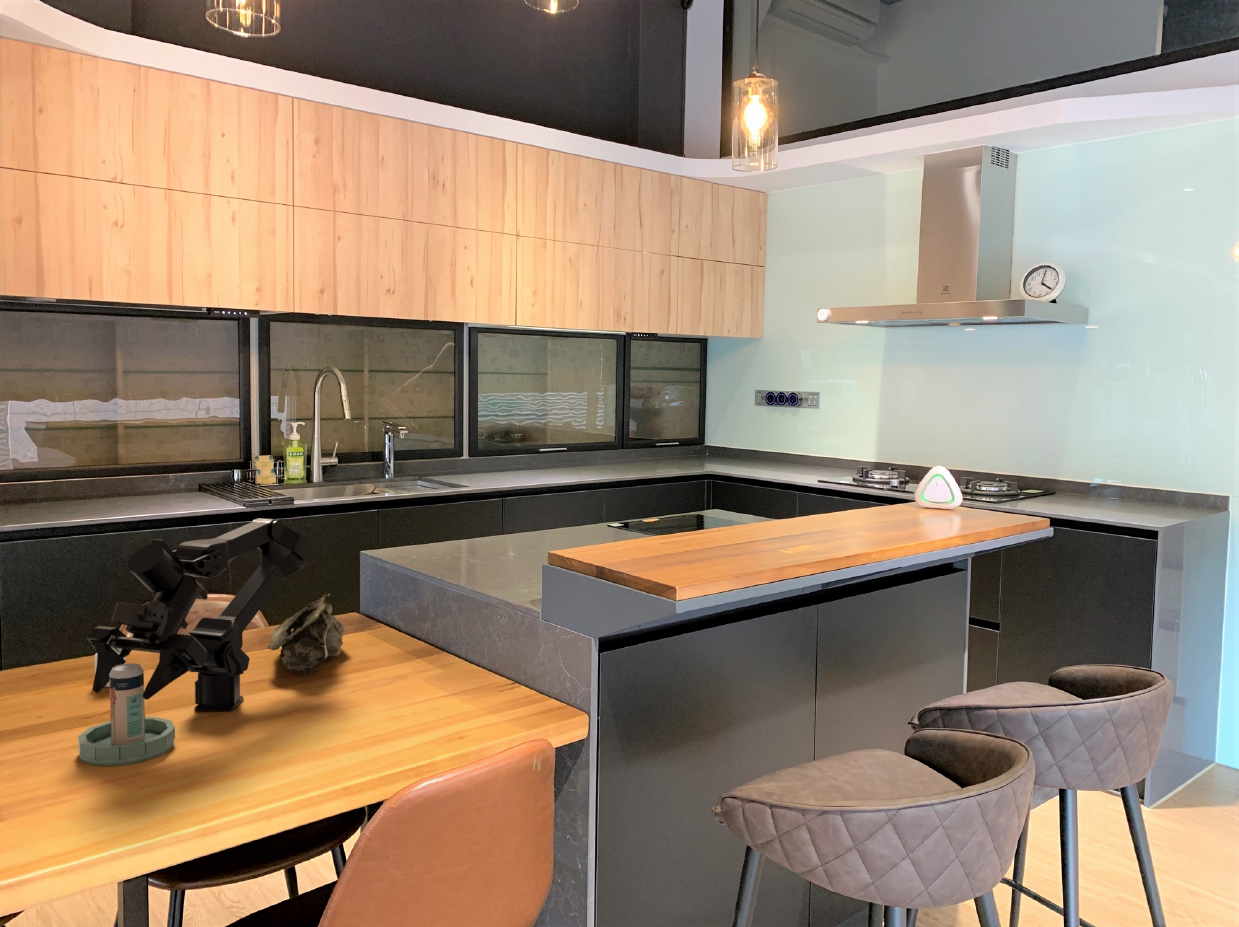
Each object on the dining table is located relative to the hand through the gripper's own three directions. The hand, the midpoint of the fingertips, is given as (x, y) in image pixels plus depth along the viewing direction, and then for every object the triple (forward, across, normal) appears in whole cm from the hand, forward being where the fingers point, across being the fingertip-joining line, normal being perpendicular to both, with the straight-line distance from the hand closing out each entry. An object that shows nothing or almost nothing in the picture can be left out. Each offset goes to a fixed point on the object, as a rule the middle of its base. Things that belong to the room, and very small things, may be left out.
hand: (119, 695), depth 143 cm
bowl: (+5, 0, +7) cm, 9 cm away
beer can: (+5, 0, +7) cm, 8 cm away
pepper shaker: (-12, -26, +25) cm, 38 cm away
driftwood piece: (-29, -1, +42) cm, 51 cm away
